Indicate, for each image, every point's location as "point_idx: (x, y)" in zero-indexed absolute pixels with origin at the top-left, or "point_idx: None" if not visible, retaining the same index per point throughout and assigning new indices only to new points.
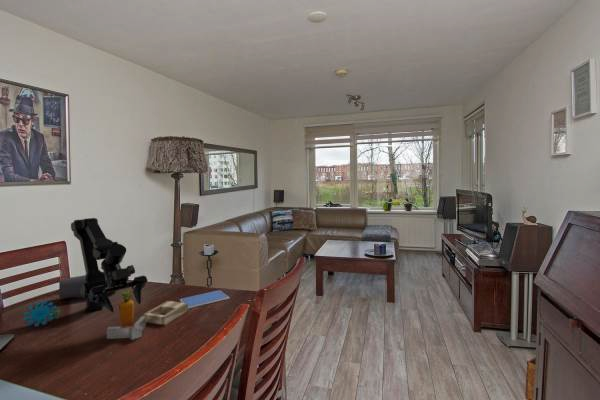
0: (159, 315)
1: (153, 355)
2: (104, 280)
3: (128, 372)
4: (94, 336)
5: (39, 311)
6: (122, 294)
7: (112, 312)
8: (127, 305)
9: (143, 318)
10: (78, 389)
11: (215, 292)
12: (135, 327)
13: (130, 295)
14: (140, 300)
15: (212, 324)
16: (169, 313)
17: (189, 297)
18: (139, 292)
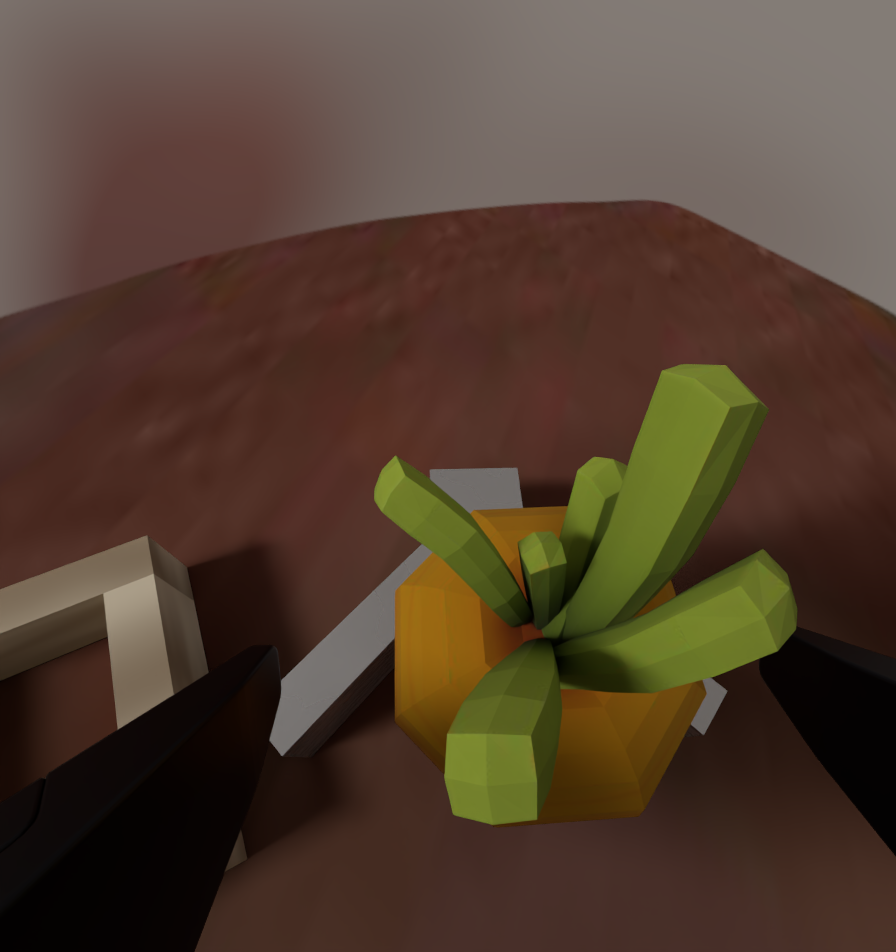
0: (132, 633)
1: (476, 290)
2: None
3: (607, 258)
4: (797, 905)
5: None
6: (763, 587)
7: (769, 661)
8: (557, 510)
9: (312, 652)
10: (795, 282)
11: None
12: (473, 495)
13: (478, 530)
14: (224, 663)
15: (27, 335)
16: (36, 593)
17: None
18: (19, 820)
